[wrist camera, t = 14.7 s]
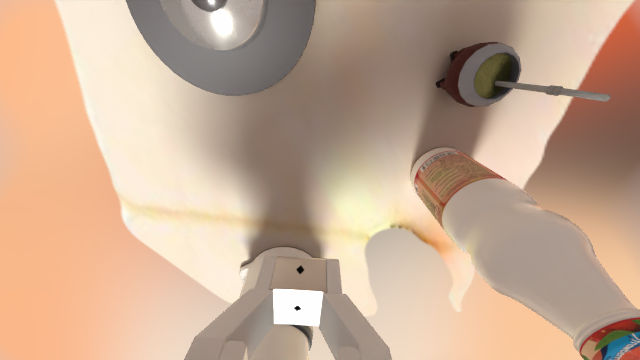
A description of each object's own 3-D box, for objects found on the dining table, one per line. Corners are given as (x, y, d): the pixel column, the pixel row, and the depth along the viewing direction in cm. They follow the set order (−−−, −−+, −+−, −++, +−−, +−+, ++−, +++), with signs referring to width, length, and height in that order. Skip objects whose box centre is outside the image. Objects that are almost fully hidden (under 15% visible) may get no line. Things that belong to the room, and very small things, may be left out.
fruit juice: (423, 139, 37) (641, 294, 12) (477, 153, 38) (782, 324, 13) (400, 190, 41) (525, 387, 16) (449, 202, 42) (640, 405, 17)
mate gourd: (426, 62, 32) (502, 59, 19) (485, 31, 31) (614, 5, 17) (440, 112, 35) (514, 140, 22) (495, 86, 34) (611, 99, 20)
